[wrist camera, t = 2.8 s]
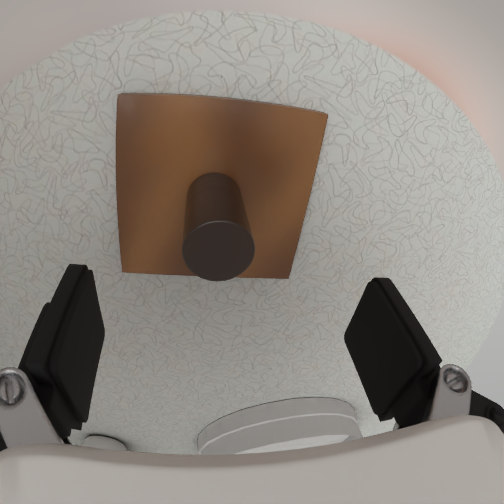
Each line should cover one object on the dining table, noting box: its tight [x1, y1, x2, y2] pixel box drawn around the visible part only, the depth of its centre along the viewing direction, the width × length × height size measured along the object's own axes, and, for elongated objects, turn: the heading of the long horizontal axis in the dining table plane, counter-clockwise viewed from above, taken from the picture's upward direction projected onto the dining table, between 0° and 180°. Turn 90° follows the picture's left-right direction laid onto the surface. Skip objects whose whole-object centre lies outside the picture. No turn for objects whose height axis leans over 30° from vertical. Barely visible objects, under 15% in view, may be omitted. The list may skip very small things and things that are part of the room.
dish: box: [197, 397, 363, 455], centre depth 37 cm, size 22×22×5 cm
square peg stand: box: [116, 93, 328, 281], centre depth 16 cm, size 11×11×6 cm
